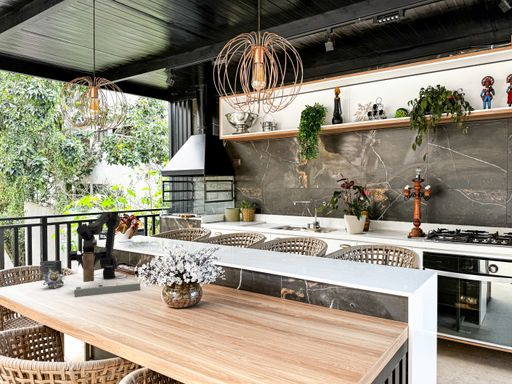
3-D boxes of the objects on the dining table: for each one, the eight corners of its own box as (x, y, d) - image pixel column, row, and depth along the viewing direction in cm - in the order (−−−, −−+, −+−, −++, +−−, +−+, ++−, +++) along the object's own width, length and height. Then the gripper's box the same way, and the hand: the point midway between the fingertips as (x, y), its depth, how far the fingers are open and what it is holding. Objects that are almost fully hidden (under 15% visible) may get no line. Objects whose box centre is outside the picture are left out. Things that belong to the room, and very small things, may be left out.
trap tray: (138, 284, 222) (138, 278, 222) (140, 290, 210) (140, 283, 210) (76, 290, 211) (76, 284, 211) (74, 296, 199) (74, 290, 199)
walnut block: (94, 279, 211) (93, 253, 211) (93, 281, 206) (93, 254, 206) (84, 280, 209) (83, 253, 209) (83, 282, 204) (82, 255, 204)
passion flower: (55, 298, 218) (44, 283, 211) (43, 292, 223) (32, 278, 216) (71, 283, 225) (61, 269, 218) (59, 278, 230) (50, 263, 223)
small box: (62, 276, 248) (62, 260, 248) (56, 279, 241) (55, 262, 241) (46, 276, 249) (46, 260, 249) (40, 279, 242) (39, 262, 242)
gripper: (69, 235, 208) (67, 259, 198) (106, 233, 215) (107, 257, 204) (70, 248, 216) (69, 272, 205) (107, 246, 222) (107, 269, 212)
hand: (88, 267), depth 207 cm, fingers closed on walnut block, 5 cm apart
